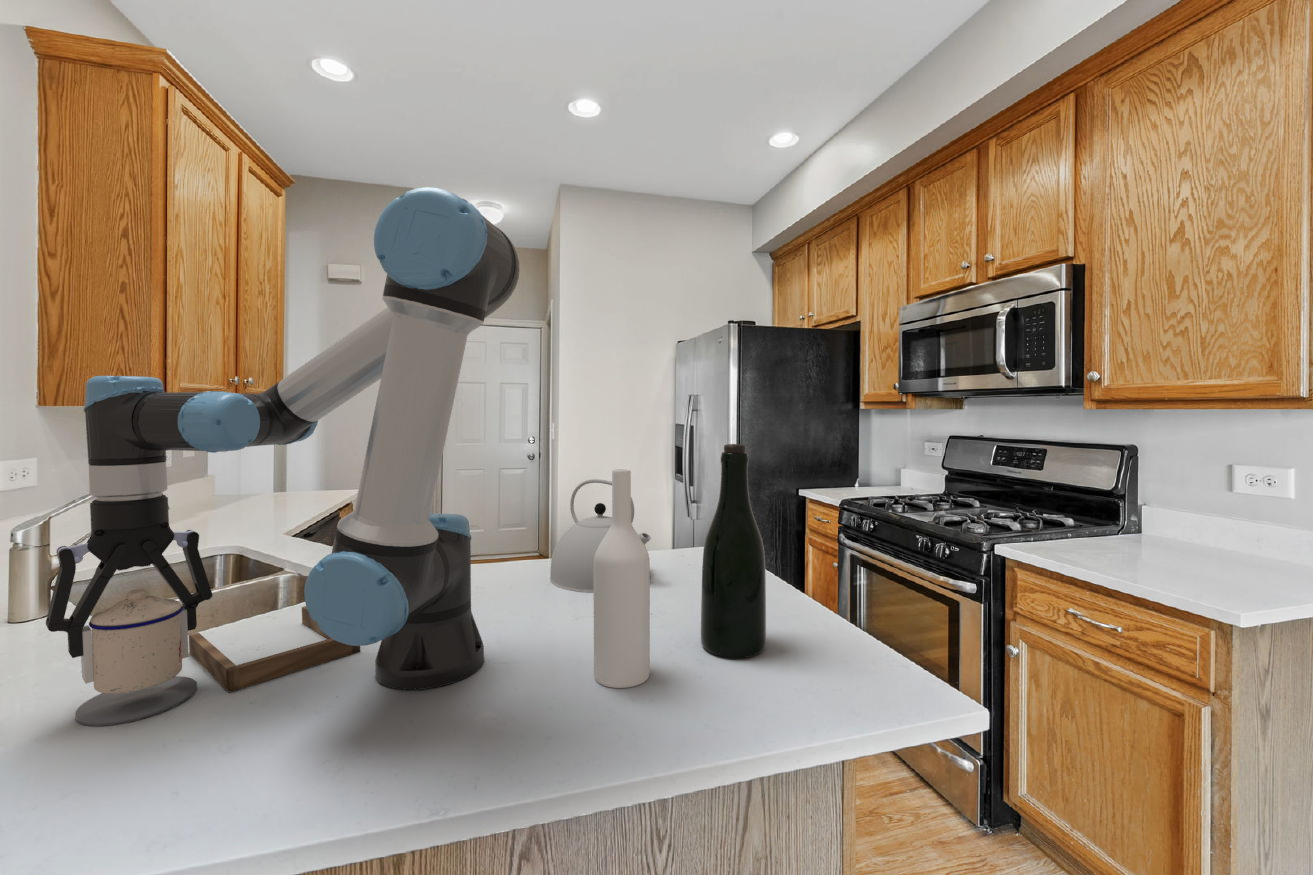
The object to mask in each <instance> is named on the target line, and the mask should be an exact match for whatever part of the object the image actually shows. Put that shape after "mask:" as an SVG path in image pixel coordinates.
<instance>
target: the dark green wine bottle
mask: <svg viewBox="0 0 1313 875" xmlns="http://www.w3.org/2000/svg"><path fill="white" fill-rule="evenodd" d="M749 460H750V459H749V454H748V452H746V446H745V445H744V444H741V443H740V444H739V443H731V444H730V443H728V444H725V445H724V447H723V452H721V455H720V464H721V467H720V469H721V470H720V472H721V474H720V488H719V496H718V502H717V506H716V510H715V512H714V514H713V517H712V520H711V522H710V525H709V529H708V531H707V533H706V536H705V541H704V545H703V553H702V565H701V566H702V568H701V576H702V577H701V597H700V598H701V599H700V600H701V602H700V606H701V608H700V642H701V645H702V646H703V648H704V649H705V650H707V651H708V652H709V653H711V654H713V655H716V656H719V657H722V658H727V659H728V658H729V659H744V658H751V657H754V656H756V655H759V654H761V652H762V651H763V650H764V649H765V646H766V641H767V600H766V599H767V596H766V595H767V592H766V591H767V588H766V587H767V586H766V580H767V579H766V556H765V553H766V552H765V548H764V542H763V538H762V534H761V532H760V530H759V526H758V524H757V521H756V518H755V515H754V512H753V509H752V505H751V500H750V493H749V478H748V477H749V476H748V475H749V474H748V473H749V472H748V471H749V470H748V467H749V466H748V465H749Z"/></svg>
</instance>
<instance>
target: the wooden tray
mask: <svg viewBox="0 0 1313 875" xmlns="http://www.w3.org/2000/svg"><path fill="white" fill-rule="evenodd" d="M301 623H302V625H303V626H304V627H307V628H309V629H311V630H312V631H314V632H315V633H317V634H319V635H320V636H322V637H324V638H326V639H325V640H320V641H317V642H313V643H310V644H307V645H303V646H299V647H295V648H292V649H289V650H286V651H282V652H278V653H275V654H271V655H268V656H265V657H261V658H257V659H254V660H251V661H247V662H243V663H239V664H235V663H234V662H233V661H232V660H230V658H228V657H227V656H226V655H225V654H224V653H222V652H221V650H219V649H218V648H217V647H216V646H215V645H214V644H212V643H211V642H210V641H209V640H208V639H206V637H204V636H203V635H202V634H201V633H200V632H199V631H196V632H191V633H189V634H188V652H189V654H190V655H191V656H192V657H193V659H195V660H196V661H197V662H198V663H199V665H201V666H202V667H203V668H204V669H205V670H206V672H208V673H209V674H210V675H211V676H212V677H213V678H214V679H215V680H216V681H217V682H218V683H219V684H220V685H221V686H222V687H223V688H224V689H225V690H226V691H227V692H228V693H231V692H236V691H239V690H242V689H244V688H248V687H251V686H254V685H257V684H261V683H264V682H267V681H270V680H274V679H277V678H280V677H282V676H287V675H289V674H293V673H296V672H298V671H302V670H306V669H308V668H313V667H314V666H318V665H321V664H323V663H327V662H331V661H333V660H337V659H340V658H343V657H344V658H345V657H346V656H350V655H353V654H356V653H360V652H361V646H353V645H347V644H343V643H340V642H338V641H336V640H334V639H332V638H330V637H329V636H327V635H326V634H325V633H323V632H322V631H321V630H320V628H319V626H318V624H317V622H316V621H315V620H312V618H311V617H310V614H309V612H308V610H307V607H306V605H305V606H301Z"/></svg>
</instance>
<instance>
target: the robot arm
mask: <svg viewBox="0 0 1313 875" xmlns="http://www.w3.org/2000/svg"><path fill="white" fill-rule="evenodd" d="M373 248H374V252H375V253H374V254H375V256H376V258H377V259H378V261H379V263H380V265H381V268H382V269H383V271H384V273H385V274H386V277H385V284H384V289H383V293H382V300H383V302H384V303H385V306H387V307H385V308H384V309H382V310H381V311H379V312H378V313H376V314H375V315H374V316H372V317H371V318H369V319H368V320H366V321H365V322H364V323H362V324H361V325H359V326H358V327H356V328H355V329H354V330H352V331H350V332H349V333H347V334H346V335H345V336H343V337H342V338H340V339H339V340H338V341H336V342H334V343H332V344H331V345H330V346H329V347H326V348H325V349H324V350H322V351H321V352H320V353H319V354H317V355H315V356H314V357H313V358H311V359H310V360H308V361H307V362H305V363H303V364H302V365H301V366H299V367H298V368H297V369H295V370H294V371H292V372H291V373H289V374H288V375H286V376H285V377H284V378H282V379H281V380H280V381H278V382H277V383H275V384H274V385H272V386H270V387H269V388H268V389H266V390H264V391H262V392H259V393H251V392H250V393H245V392H241V393H239V392H228V391H222V390H221V391H215V390H211V391H210V390H207V391H184V392H182V391H181V392H180V391H179V392H178V391H177V392H176V391H175V392H167V391H165V390H164V384H163V381H162V379H160V378H158V377H152V376H138V375H137V376H135V375H133V376H132V375H124V376H123V375H97V376H93V377H91V378H89V379H87V381H86V384H85V393H84V394H85V398H84V400H85V401H84V407H83V412H84V413H85V415H84V416H85V428H86V429H85V432H86V433H85V434H86V445H87V446H86V448H87V458H88V459H87V460H88V461H87V462H88V463H87V464H88V481H89V483H88V484H89V485H88V486H89V495H90V496H92V497H94V498H96V499H93V500H92V501H91V502H89V511H90V530H91V532H90V535H89V538H88V539H87V541H86V542H85V543H82V544H81V543H80V544H76V545H72V546H68V545H67V546H66V545H62V546H59V547H57V549H56V555H57V556H56V557H57V560H58V565H59V567H58V570H57V575H56V578H55V583H54V587H53V592H52V595H51V599H50V604H49V608H48V610H47V611H48V612H47V616H46V620H45V625H46V628H47V630H48V631H49V632H53V633H54V632H64V633H67V648H68V649H67V650H68V654H69V655H70V656H71V658H72V659H75V658H78V657H80V658H81V660H80V661H81V662H80V663H81V678H82V680H83V682H84V684H86V685H87V684H90V683H94V674H93V651H92V628H91V627H90V626H89V624H86V623H87V621H88V619H89V618H90V616H91V615H92V612H93V611H94V609H95V608H96V605H97V603H98V601H99V600H100V598H101V596H102V594H103V593H104V591H105V589H106V587H107V585H108V584H109V582H110V580H111V579H112V578H113V577H114V575H115V573H116V572H117V571H124V570H128V569H131V568H135V567H139V568H141V567H142V568H144V567H149V566H151V565H152V566H153V567H154V568H155V570H157V572H158V573H159V575H160V576H161V577H162V579H163V580H164V581H165V582H166V584H167V585H168V586H169V588H170V589H171V590H172V592H173V593H174V594H175V596H176V597H177V598H178V600H179V602H181V606H182V607H183V610H182V612H181V643H182V659H184V658H185V659H186V658H188V657H189V656H190V655H189V654H190V653H189V634H188V633H189V632H190V631H194V630H196V629H197V626H198V625H197V624H198V621H197V608H198V607H199V604H201V603H202V602H204V601H208V600H209V601H210V600H211V599H212V598H213V592H212V588H211V586H210V583H209V578H208V575H207V573H206V570H205V567H204V564H203V561H202V558H201V555H200V554H201V553H200V551H199V542H200V534H199V532H197V531H194V530H193V529H186V530H185V531H174V530H172V529H171V526H170V521H169V519H170V518H169V497H168V496H166V494H163V493H164V492H166V491H167V490H168V473H167V451H186V452H206V453H212V454H214V453H215V454H216V453H218V452H219V453H220V452H221V453H222V452H223V453H224V452H225V453H226V452H231V451H239V450H243V449H245V448H249V447H258V446H259V447H261V446H272V445H278V446H282V445H283V446H284V445H291V444H294V443H296V442H297V443H298V442H301V441H305V440H306V439H308V438H309V437H311V436H312V435H313V433H314V432H315V430H316V427H317V426H318V423H319V421H320V420H321V419H323V418H324V417H326V415H328V414H330V413H332V411H335V410H336V409H337V408H339V407H340V406H342V405H344V404H345V403H347V402H348V401H349V400H351V399H352V398H354V397H356V396H357V395H358V394H360V393H362V392H363V391H364V390H365V389H367V388H369V387H371V386H372V385H373V384H374V383H377V382H378V381H379V380H380V382H379V385H378V387H379V388H378V393H377V398H376V401H375V406H374V412H373V417H372V420H371V426H370V432H369V437H368V442H367V446H366V453H365V457H364V460H363V461H364V462H363V466H362V471H361V476H360V481H359V485H358V486H359V487H358V490H357V494H356V495H357V496H356V501H355V504H354V505H355V506H354V510H352V511H351V512H350V513H348V514H347V515H345V516H343V517H342V518H341V519H339V520H338V522H337V525H336V531H335V535H334V539H333V545H332V550H331V553H330V554H327V555H326V556H324V557H323V558H322V559H320V560H319V561H318V562H317V563H316V564H315V565H314V566H312V568H311V570H310V571H309V573H308V575H307V578H306V580H305V583H304V592H303V594H304V603H305V606H306V607H307V610H308V612H309V614H310V617H311V618H312V620H315V621H316V622H317V624H318V626H319V628H320V630H321V631H322V632H323V633H325V634H326V635H327V636H329V637H330V638H332V639H334V640H336V641H338V642H340V643H343V644H347V645H353V646H360V647H361V646H365V647H366V646H369V645H373V644H376V643H378V642H380V644H379V646H378V647H379V648H378V651H377V655H376V658H375V662H374V663H375V664H374V665H375V666H374V667H375V679H376V681H378V683H380V684H381V685H382V686H385V687H388V688H391V689H396V690H424V689H432V688H438V687H442V686H447V685H449V684H454V683H455V682H458V681H461V680H463V679H465V678H467V677H470V676H471V675H473V674H475V673H476V672H477V671H478V670H479V669H480V668H481V667H482V666H483V664H484V661H485V648H484V647H485V646H484V642H483V640H482V636H481V634H480V631H479V628H478V626H477V623H476V620H475V618H474V615H473V613H472V570H471V569H472V564H471V563H472V558H471V557H472V556H471V554H472V553H471V552H472V551H471V541H472V535H471V531H470V530H471V529H470V521H469V519H468V518H467V516H465V515H462V514H458V513H439V512H437V513H436V512H435V513H434V512H433V513H431V511H432V506H433V502H434V496H435V493H436V492H435V491H436V486H437V481H438V478H439V474H440V473H439V472H440V469H441V468H440V467H441V464H442V458H443V454H444V450H445V446H446V445H445V444H446V440H447V435H448V431H449V425H450V422H451V416H452V411H453V407H454V401H455V397H456V394H457V393H456V392H457V387H458V382H459V378H460V373H461V370H462V369H461V368H462V363H463V360H464V355H465V351H466V345H467V341H468V340H467V339H468V336H469V335H470V333H471V332H474V331H475V330H476V329H478V328H480V327H482V326H483V325H484V323H485V319H486V318H487V317H489V316H490V315H491V314H493V313H494V312H496V311H497V310H498V309H499V308H501V307H502V306H503V305H504V304H505V303H506V302H507V301H508V300H509V299H510V298H511V296H512V294H513V292H515V289H516V287H517V285H518V283H519V282H518V280H519V279H520V272H521V271H520V260H519V257H518V252H517V250H516V248H515V246H514V244H513V242H512V241H511V239H510V238H509V237H508V236H507V235H506V234H505V232H504V231H502V230H501V229H500V228H498V227H497V226H496V225H494V224H493V223H492V222H491V221H490V220H489V219H487V218H486V217H485V216H484V215H482V213H481V212H480V211H479V209H477V207H476V206H475V205H474V204H472V203H471V202H469V201H468V200H466V199H465V198H461V197H460V196H458V195H457V194H456V193H454V192H451V191H449V190H446V189H443V188H441V187H440V188H439V187H433V186H426V187H425V186H424V187H417V188H413V189H410V190H407V191H405V192H404V193H403V194H401V195H400V196H398V197H396V198H393V199H392V200H391V201H390V202H389V203H388V204H387V205H386V207H385V208H384V209H383V210H382V212H381V214H380V215H379V217H378V220H377V223H376V224H375V228H374V234H373ZM173 541H176V544H177V546H178V547H180V548H182V552H183V554H184V558H185V561H186V564H187V566H188V571H189V573H190V576H191V579H192V583H193V586H194V589H195V592H193V593H191V592H190V590H189V589H188V587H187V586H185V584H184V582H183V581H182V580H181V578H180V577H179V576H178V575H177V573H176V572H175V571H174V569H173V568H172V566H171V565H170V563H169V562H168V560H167V558H165V556H164V555H163V553H164V552H165V551H166V550H167V549H168V547H169V546H170V545H171V543H172V542H173ZM87 553H91V554H92V555H93V556H94V557H95V558H97V559H98V560H99V561H100V562H99V563H98V566H97V567H96V569H95V570H94V574H93V575H92V578H91V580H90V581H89V583H88V585H87V587H86V588H85V590H84V592H83V594H82V595H81V597H80V599H79V601H78V602H77V604H76V606H75V608H74V609H73V611H72V613H71V615H70V616H69V618H65V615H66V611H67V608H68V603H69V599H70V596H71V592H72V588H73V585H74V584H73V583H74V580H75V576H76V571H77V564H80V563H81V562H82V561H83V560H84V556H85V555H86V554H87Z"/></svg>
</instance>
